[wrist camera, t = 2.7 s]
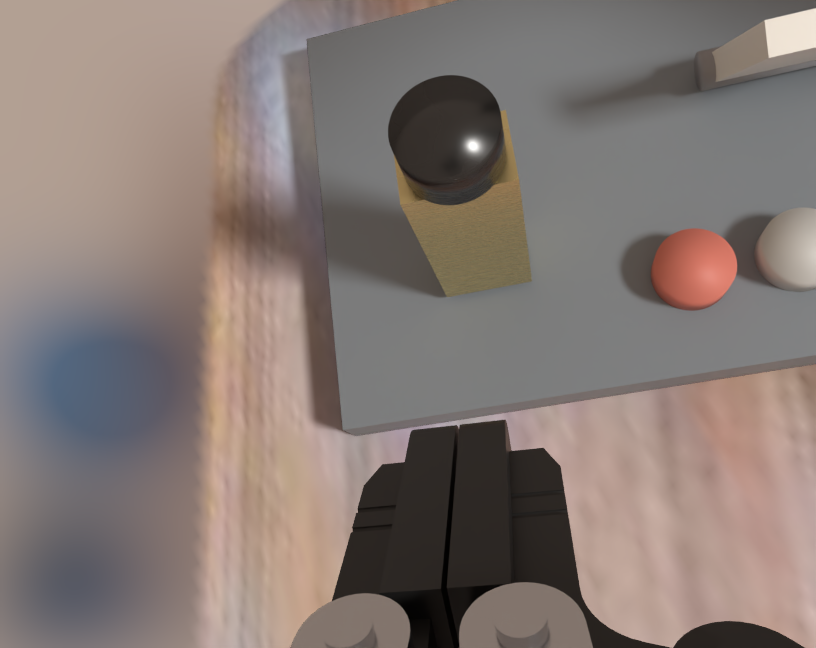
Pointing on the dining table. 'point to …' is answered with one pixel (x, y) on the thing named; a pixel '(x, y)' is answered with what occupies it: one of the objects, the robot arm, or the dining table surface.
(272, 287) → the dining table surface
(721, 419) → the dining table surface
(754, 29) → the cream rectangular block
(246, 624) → the dining table surface
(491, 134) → the slide lever
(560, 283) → the control board
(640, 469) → the dining table surface
